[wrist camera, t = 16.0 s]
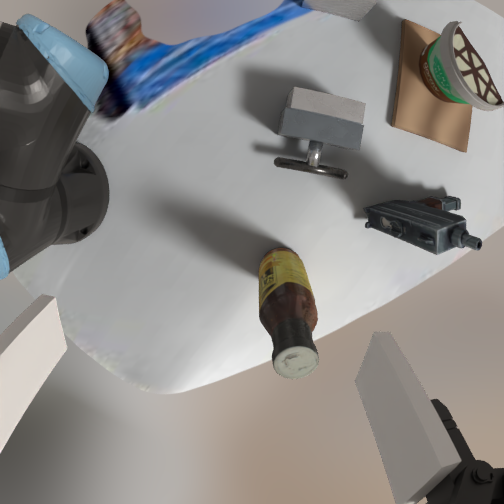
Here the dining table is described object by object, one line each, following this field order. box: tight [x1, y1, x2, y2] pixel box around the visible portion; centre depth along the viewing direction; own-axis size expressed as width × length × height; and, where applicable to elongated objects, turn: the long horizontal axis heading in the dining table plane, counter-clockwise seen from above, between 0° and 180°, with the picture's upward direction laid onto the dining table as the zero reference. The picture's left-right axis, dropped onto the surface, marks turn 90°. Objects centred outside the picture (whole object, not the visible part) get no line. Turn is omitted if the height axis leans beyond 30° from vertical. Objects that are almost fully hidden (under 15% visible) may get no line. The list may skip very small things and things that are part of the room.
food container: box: [419, 21, 504, 111], centre depth 28 cm, size 12×6×10 cm, turn 39°
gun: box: [364, 196, 482, 255], centre depth 33 cm, size 3×17×15 cm
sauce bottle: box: [259, 248, 319, 379], centre depth 34 cm, size 6×6×20 cm
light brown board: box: [391, 19, 472, 152], centre depth 33 cm, size 13×17×1 cm
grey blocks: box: [274, 0, 376, 179], centre depth 31 cm, size 9×28×7 cm, turn 171°
